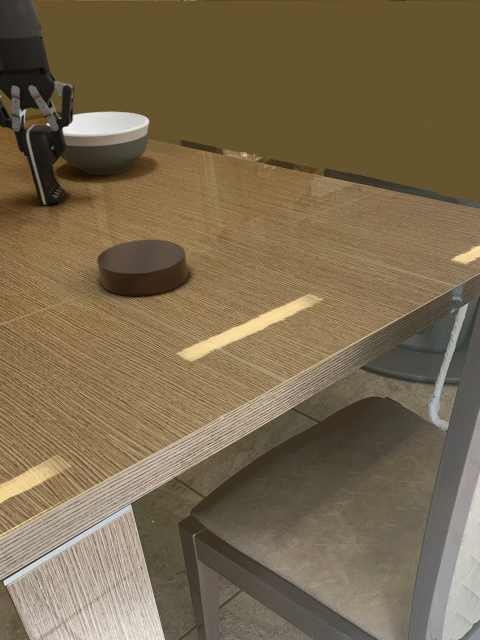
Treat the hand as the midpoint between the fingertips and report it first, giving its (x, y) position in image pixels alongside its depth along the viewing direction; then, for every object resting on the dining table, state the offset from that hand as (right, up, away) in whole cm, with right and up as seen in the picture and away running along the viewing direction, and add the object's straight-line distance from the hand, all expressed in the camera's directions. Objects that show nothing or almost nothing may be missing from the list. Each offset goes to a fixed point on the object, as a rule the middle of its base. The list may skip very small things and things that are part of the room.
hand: (44, 154), depth 104 cm
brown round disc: (+22, -25, -21) cm, 39 cm away
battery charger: (0, -6, +5) cm, 8 cm away
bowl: (+4, +5, +19) cm, 20 cm away
